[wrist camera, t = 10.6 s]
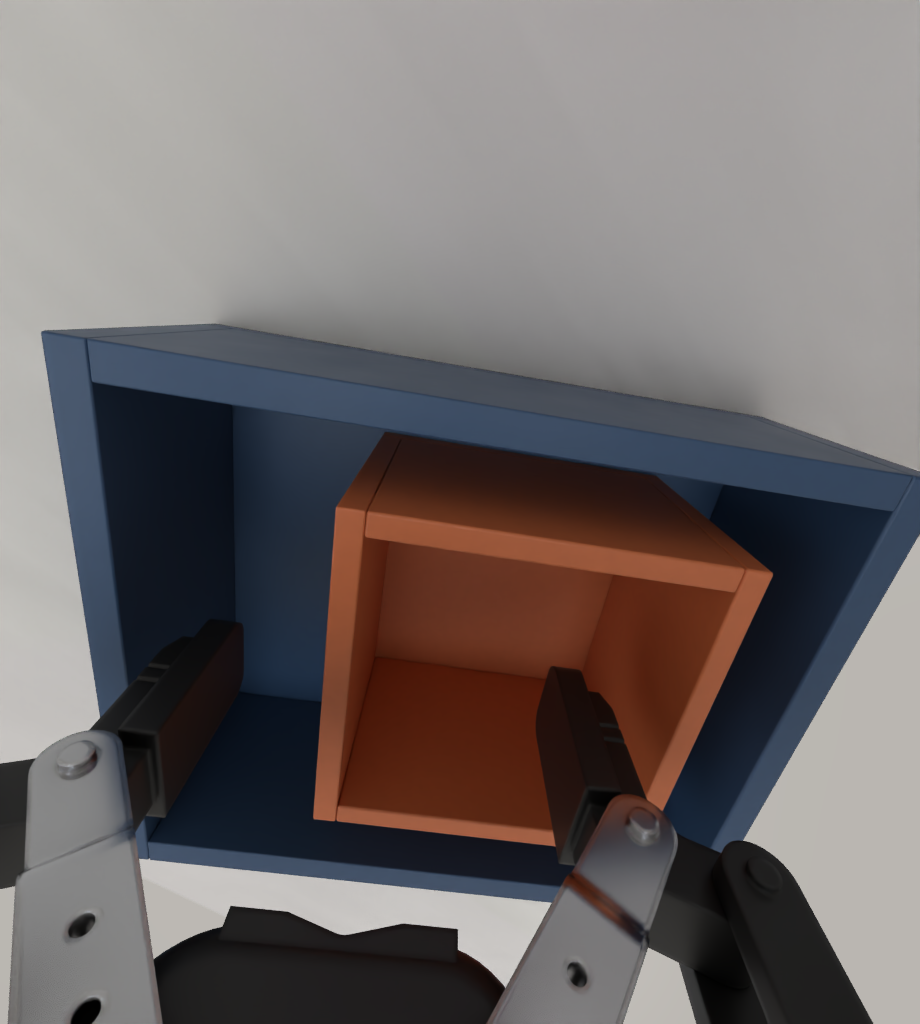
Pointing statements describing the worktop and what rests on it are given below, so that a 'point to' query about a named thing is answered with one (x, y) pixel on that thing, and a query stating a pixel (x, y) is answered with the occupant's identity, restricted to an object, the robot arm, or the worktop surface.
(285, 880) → the worktop surface
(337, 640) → the small bin
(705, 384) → the worktop surface
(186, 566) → the big bin
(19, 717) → the worktop surface
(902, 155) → the worktop surface
